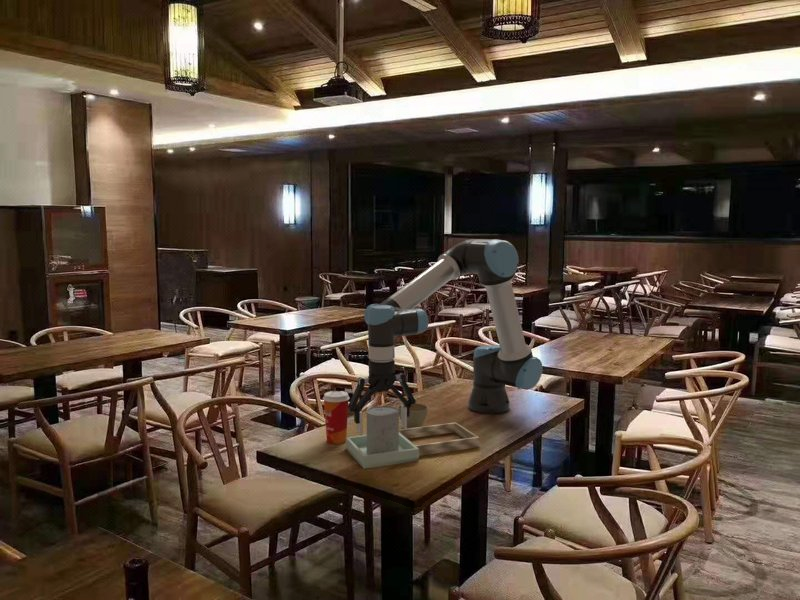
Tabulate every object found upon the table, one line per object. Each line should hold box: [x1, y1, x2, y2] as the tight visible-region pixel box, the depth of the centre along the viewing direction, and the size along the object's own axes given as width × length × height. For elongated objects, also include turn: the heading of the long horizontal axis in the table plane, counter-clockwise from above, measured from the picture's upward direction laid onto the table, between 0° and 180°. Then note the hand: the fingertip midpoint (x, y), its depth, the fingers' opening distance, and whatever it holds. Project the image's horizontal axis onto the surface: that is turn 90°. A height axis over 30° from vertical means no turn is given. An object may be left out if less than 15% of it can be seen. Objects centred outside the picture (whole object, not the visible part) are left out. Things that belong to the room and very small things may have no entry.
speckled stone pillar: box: [365, 405, 400, 455], centre depth 184 cm, size 10×10×12 cm
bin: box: [345, 433, 420, 470], centre depth 184 cm, size 17×17×4 cm
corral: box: [399, 422, 480, 457], centre depth 194 cm, size 22×16×3 cm
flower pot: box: [397, 402, 429, 428], centre depth 208 cm, size 10×10×7 cm
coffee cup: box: [322, 390, 351, 445], centre depth 195 cm, size 8×8×15 cm
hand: (382, 430), depth 184 cm, fingers open, 13 cm apart
